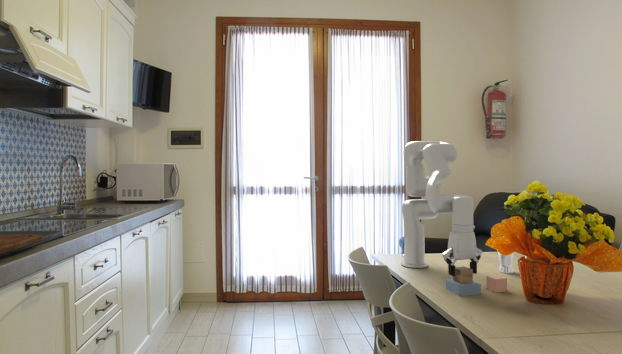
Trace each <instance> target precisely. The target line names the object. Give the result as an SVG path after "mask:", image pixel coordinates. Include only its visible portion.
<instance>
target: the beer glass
mask: <svg viewBox="0 0 622 354" xmlns="http://www.w3.org/2000/svg"><path fill="white" fill-rule="evenodd" d="M497 255H498V260H499V261H498V262H499V265H498V272H499V273H501V274H514V273H515V271H514V259H515V253H512V254H510V255H508V256H503V255H501V254H500V253H499V252H498V251H497Z"/></svg>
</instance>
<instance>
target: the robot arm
mask: <svg viewBox="0 0 622 354" xmlns="http://www.w3.org/2000/svg"><path fill="white" fill-rule="evenodd" d="M457 157H458V152H457V148H456V147H455V145H453V144H452V143H450V142H449V143H448V142H444V141H440V140H439V141H438V140H436V141H435V140H429V141H428V140H415V141H410V142H409V141H408V142H407V143H406V144H405V146H404V149H403V159H404V163H405V169H406V170H405V171H406V173H405V193H406V195H407V196H409V197H415V199H413V198H412V199H407V200H405V201H403V203H402V204H401V211H402V212H401V213H402V218H403V234H404V235H403V242H404V244H403V246H404V247H403V249H404V252H403V253H404V254H402V255H401V257H402V258H403V260H402V261H401V262H400V264H401V266H403V267H406V268H413V269H422V268H423V269H424V268H427V267H428V266H429V263H428V262H427V261H425V258H426V257H425V256H426V255H425V254H426V253H425V252H426V251H425V245H426V244H425V240H426V239H425V237H426V236H425V231H426V230H425V227H424V225H423V223H422V222H421V220H432V219H436V218H437V217H438V216H439V214H440V215H441V214H451V231H450V233H449V235H448V240H447V250H445V251H444V252H442V258H443V259H444V261H445V262H446V265H448V266H447V268H448V269H447V271H448V273H447V274H448V275H449V276H452V277H453V276H455V267H456V265H455V263H457V261H463V260H470V262H469V268H470V269H473V275H474V274H475V275H477V274H478V263H479V261H480V260H481V257H482V253H483V250H482V249H480V248H478V247H477V240H476V235H475V232H474V230H475V228H476V226H475V225H474V198H473V197H472V196H469V195H463V194H460V193H459V194H458V193H456V194H455V193H453V194H452V193H451V194H450V193H448V194H447V193H446V194H445V193H444V194H443V193H442V194H441V187H440V183H442V182H445V181H446V180H448V179H449V178H450V177H451V175H452V171H451V167H450V165H449V164H452V163H454V162H455V161H456V160H457ZM422 160H424V162H425V164H424V163H423V162H422ZM425 166H426V168H425ZM426 169H427V171H428V174H429V176H425V170H426ZM417 197H418V199H417ZM419 197H423V199H421V198H419ZM424 197H426V198H425V199H424Z"/></svg>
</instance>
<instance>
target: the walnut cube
mask: <svg viewBox="0 0 622 354" xmlns="http://www.w3.org/2000/svg"><path fill="white" fill-rule="evenodd" d="M473 278H474V273H473V269H470V267H467V266H455V276H452V279H453V281H455V282H458V283H460V284H466V283H473V281H474V279H473Z"/></svg>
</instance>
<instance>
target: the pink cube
mask: <svg viewBox="0 0 622 354" xmlns="http://www.w3.org/2000/svg"><path fill="white" fill-rule="evenodd" d="M486 289H487V290H488V291H491V292H495V293H502V292H503V293H504V292H508V278H507V277H505V276H502V275H498V274H493V275H486Z"/></svg>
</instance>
